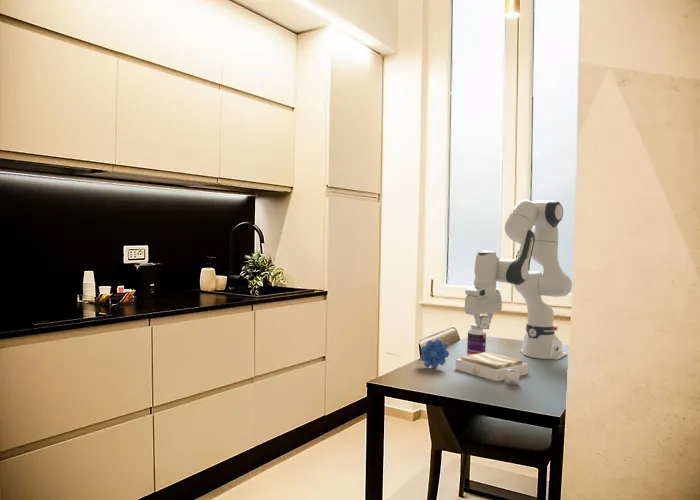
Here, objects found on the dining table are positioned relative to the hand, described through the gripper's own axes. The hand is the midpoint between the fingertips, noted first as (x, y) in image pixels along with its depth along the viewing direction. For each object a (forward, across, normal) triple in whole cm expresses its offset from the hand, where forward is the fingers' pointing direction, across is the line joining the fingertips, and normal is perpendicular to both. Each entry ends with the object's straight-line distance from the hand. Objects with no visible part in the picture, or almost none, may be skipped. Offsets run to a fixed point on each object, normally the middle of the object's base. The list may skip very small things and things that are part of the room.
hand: (483, 324), depth 210 cm
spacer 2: (+18, +8, +20) cm, 28 cm away
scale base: (+18, 0, +5) cm, 19 cm away
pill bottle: (+19, -16, -15) cm, 29 cm away
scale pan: (+14, 0, +5) cm, 15 cm away
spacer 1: (+2, 0, 0) cm, 2 cm away
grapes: (+19, +16, -11) cm, 27 cm away
